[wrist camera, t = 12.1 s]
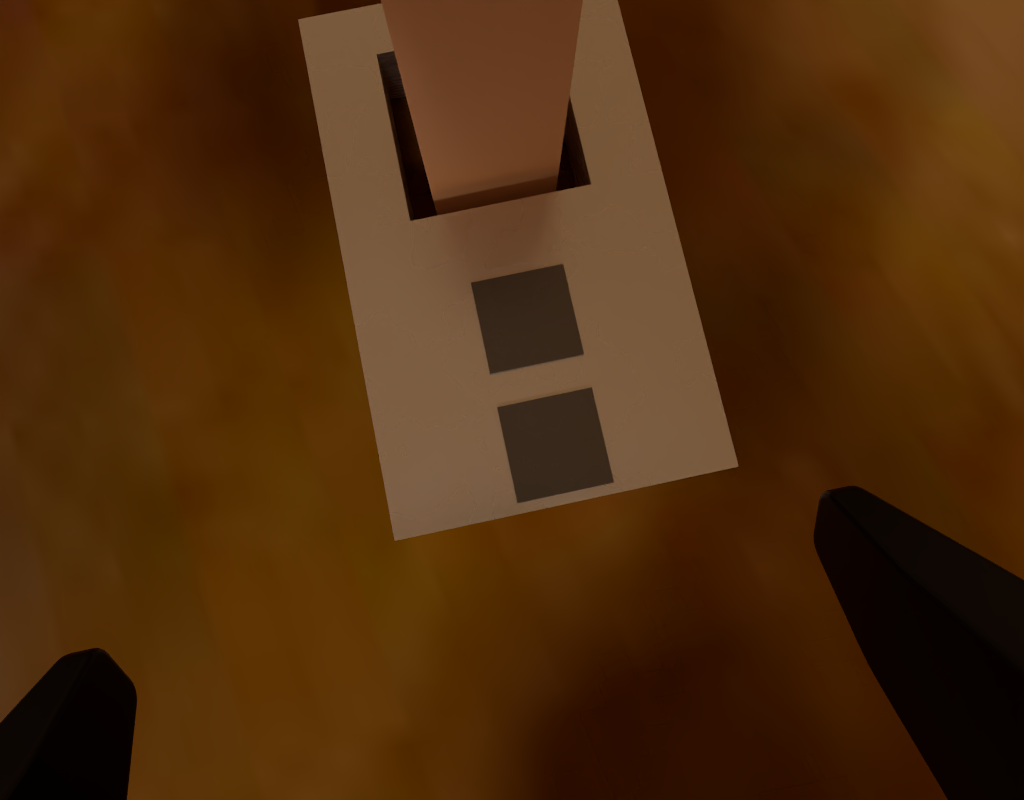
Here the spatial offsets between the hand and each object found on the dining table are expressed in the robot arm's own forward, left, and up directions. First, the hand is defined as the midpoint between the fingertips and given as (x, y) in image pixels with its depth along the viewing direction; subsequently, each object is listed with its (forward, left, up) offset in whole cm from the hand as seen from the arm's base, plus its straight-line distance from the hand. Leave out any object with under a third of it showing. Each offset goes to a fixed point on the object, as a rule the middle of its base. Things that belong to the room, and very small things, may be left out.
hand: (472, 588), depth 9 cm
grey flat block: (+7, -6, -14) cm, 16 cm away
